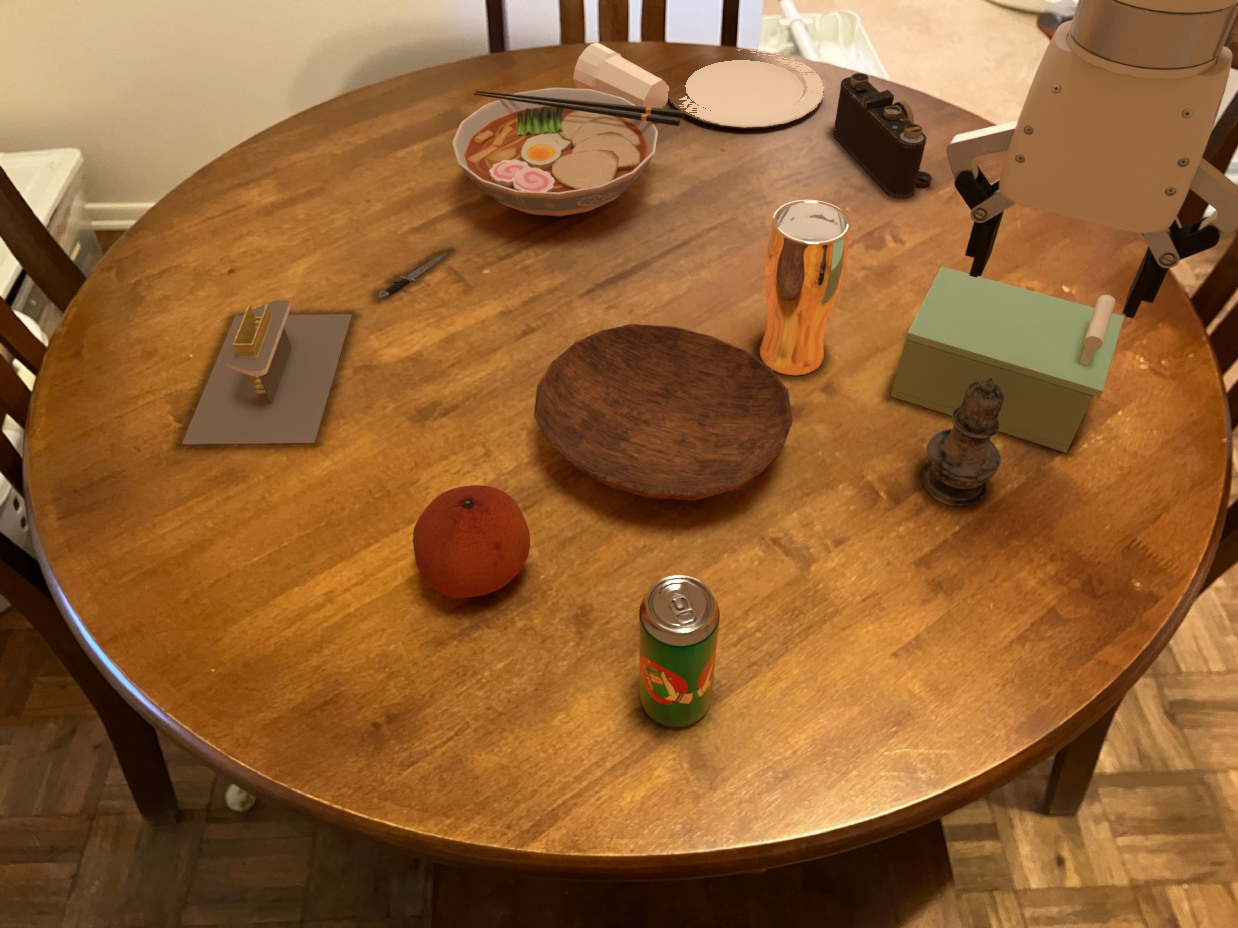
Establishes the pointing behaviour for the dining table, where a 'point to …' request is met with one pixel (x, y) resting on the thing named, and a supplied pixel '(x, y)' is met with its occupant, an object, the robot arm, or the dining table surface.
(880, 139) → the camera
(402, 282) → the knife
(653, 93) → the cup
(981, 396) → the chess piece
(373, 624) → the dining table surface
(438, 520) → the fruit
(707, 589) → the soda can
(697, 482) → the bowl
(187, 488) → the dining table surface
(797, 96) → the plate
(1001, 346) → the lunchbox lid
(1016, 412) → the box
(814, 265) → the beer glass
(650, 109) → the ramen bowl
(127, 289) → the dining table surface
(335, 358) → the platform
